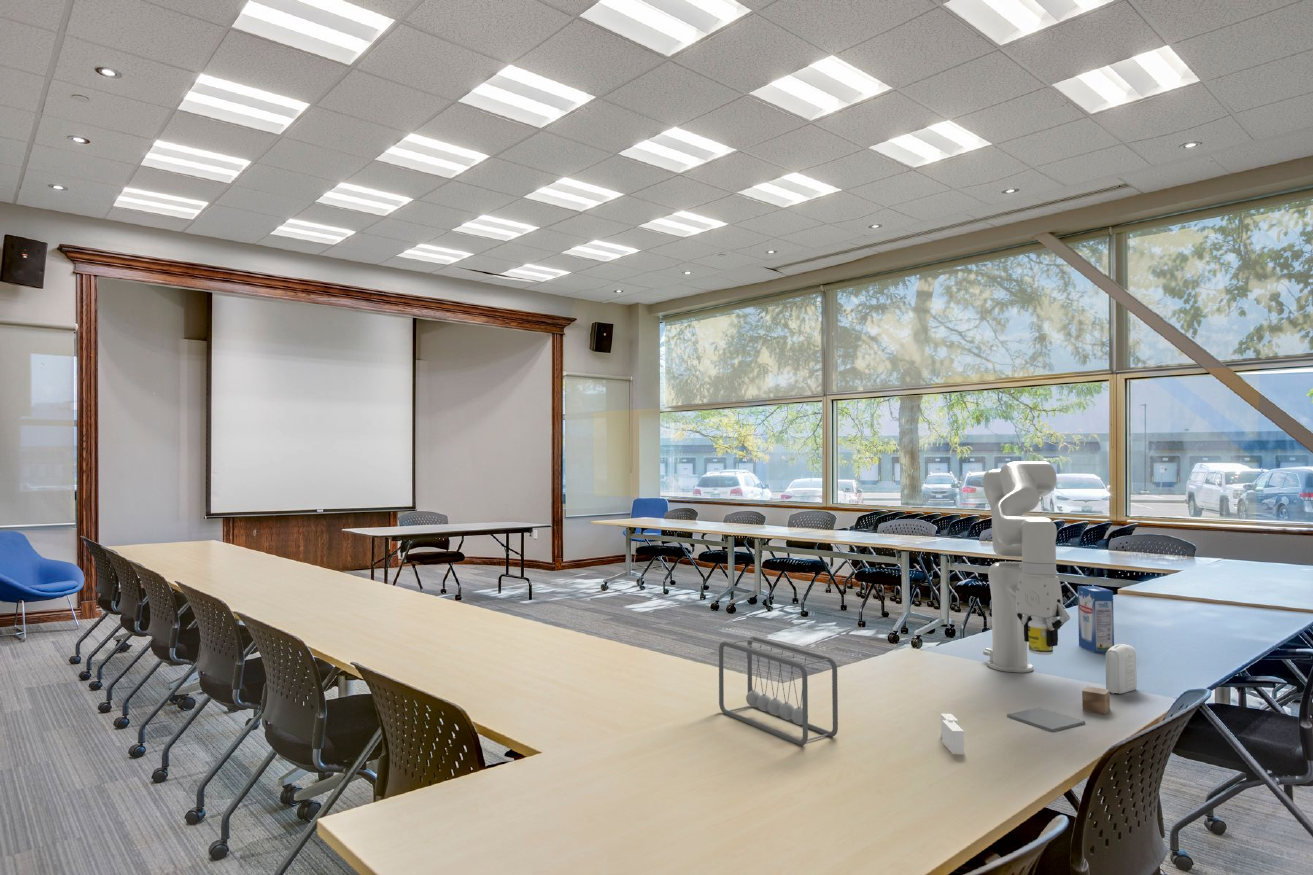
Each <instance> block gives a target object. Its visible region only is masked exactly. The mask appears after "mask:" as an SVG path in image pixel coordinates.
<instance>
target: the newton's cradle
mask: <svg viewBox="0 0 1313 875" xmlns="http://www.w3.org/2000/svg"><path fill="white" fill-rule="evenodd" d="M744 642H747V643H746V644H747V646H746V645H743V644H739V643H744ZM753 643H755V644H756V646H758V645H760V647H759V648H758V649H756V648H754V647H753V646H755V644H753ZM762 645H763V646H766V647H767V649H769V648H770V652H767V651H763V649H765V647H764V648H763V647H762ZM725 647H727V648H731V649H734V650H737V651H740V652H743V653H746V659H747V694H746V696H745V701H746V703H747V705H746V706H743V707H738V708H733V709H727V708H726V707H725V704H724V703H725V702H724V698H725V697H724V693H725V692H724V681H725V680H724V648H725ZM773 649H776V650H774V651H773V653H772V650H773ZM777 650H778V652H781V655H777V654H775V653H776V652H777ZM783 652H787V653H789V654H786V656H788V655H790V654H791V655H793V656H792V658H787V657H784V656H785V654H783ZM795 655H798V656H801V657H797V658H796V657H795ZM753 656H756V658H757V669H756V678H755V681H757V680H758V672H759V678H760V685H761V691H762V694H761V693H760V692H758V691H757V690H756V688H757V687H756V686H757V682H755V684H754V689H753ZM794 657H795V658H794ZM760 658H764V659H766V660H767V663H768V667H767V668H768V669H767V674H769V675H767V676H766V682H768V678H769V676H770V681H771V682H770V684H771V689H772V696H773V698H771V696H769V695H767V687H768V683H766V685H765V691H764V688H763V682H762V676H761V668H760ZM801 658H802V659H803V658H804V662H802V661H799V660H797V659H801ZM807 658H808V659H812V660H815V661H811V662H810V661H809V662H806V661H807ZM771 661H773V662H776V663H778V664H779V672H778V680H777V687H776V688H777V689H776V697H775V693H774V686H773V680H772V674H771V667H770V665H771ZM823 662H827V663H828V664H830V666H831V670H832V671H831V680H832V682H831V684H832V685H831V687H832V688H831V689H832V690H831V691H832V700H831V701H832V730H831V731H829V730H827V729H824V728H821V727H819V726H817V725H815V724H811V723H809V722H808V721H809V720H808V719H809V714H808V713H809V712H808V711H809V710H808V709H809V708H808V705H809V704H808V701H809V700H808V697H809V696H808V692H809V691H808V689H809V688H808V671H807V669H806V666H808V665H809V666H810V665H813V664H819V663H823ZM782 664H783V665H785V666H786V665H787V666H790V668H791V671H790V679H789V680H790V681H789V687H788V696H787V701H786V695H785V693H783V697H784V702H782V700H780V699H779V698H778V691H779V683H780V678H781V684H782V690H783V692H785V688H784V681H783V675H782ZM793 668H796V669H799V670H800V672H801V678H802V679H801V680H802V684H801V687H802V688H801V695H800V696H801V698H800V703H801V704H800V705H799V702H798V696H797V695H798V694H797V689H796V684H795V678H794V672H793ZM758 670H759V671H758ZM792 680H793V685H794V686H793V687H794V692H795V697H796V704H797V707H794V705H793V704H792V703H790V702H789V698H790V689H791V683H792ZM764 692H765V693H764ZM838 697H839V696H838V666H837V662H836V661H835V660H834V658H832V657H830V656H827V655H823V654H819V653H816V652H812V651H809V650H804V649H801V648H797V647H794V646H790V645H787V644H783V643H779V642H776V641H771V640H768V639H765V638H761V637H758V636H750V637H749V638H747V639H742V640H740V639H739V640H736V641H730V642H729V641H727V640H726V641H722V642H720V644H719V647H718V705H719V709H720V710H721V712H722V713H723V715H726V716H728V717H730V718H731V717H732V718H733V719H735V720H738V721H739V722H742V723H746V724H747V725H749V726H753V727H755V728H757V729H760V730H761V731H764V732H766V731H767V733H769V734H771V735H774V736H776V737H778V738H782V739H783V740H785V741H788V742H790V741H791V743H793V742H794V743H793V744H795V743H796V744H795V745H798V746H801V745H802V746H805V745H806V744H807V742H809V741H813V740H817V739H820V738H824V737H830V738H833V737H835V736H836V735H837V733H838V730H839V729H838V728H839V721H838V720H839V712H838V711H839V708H838V705H839V704H838V702H839V701H838ZM748 708H754V709H757V710H759V711H762V712H764V713H766V714H770V715H772V716H775V717H778V718H780V719H783V720H786V721H788V722H790V723H793V724H795V725H799V726H801V727H802V737H801V738H802V739H799V738H796V737H794V736H791V735H790V734H787V733H784V732H782V731H780V730H777V729H774V728H772V727H771V726H770V727H769V726H768V725H765V724H763V723H760V722H757V721H755V720H754V719H753V720H752V719H751V718H748V717H746V716H743V715H740V714H738V713H737V712H736V711H739V710H744V709H748ZM809 730H811V731H813V732H816V733H818V734H821V735H818V736H814V737H811V738H809Z"/></svg>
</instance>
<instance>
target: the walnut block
mask: <svg viewBox="0 0 1313 875" xmlns="http://www.w3.org/2000/svg"><path fill="white" fill-rule="evenodd" d="M1081 694H1082V696H1081V698H1082V699H1081V701H1082V703H1081V704H1082V705H1081V706H1082V711H1083V710H1084V711H1083V712H1090V713H1093V712H1094V714H1100V715H1105V716H1106V715H1107V714H1108V713H1109V712H1110V711H1109V710H1111V702H1110V701H1111V695H1110V694H1111V693H1110V690H1107V689H1106V688H1100V687H1094V686H1090V685H1086V686H1085V687H1084V688H1083V689H1082V691H1081Z"/></svg>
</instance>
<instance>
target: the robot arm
mask: <svg viewBox="0 0 1313 875" xmlns="http://www.w3.org/2000/svg"><path fill="white" fill-rule="evenodd" d="M982 478H983V479H982V485H983V486H982V487H983V490H984V491H983V492H984V494H985V497H986V500H987V502H988V504H989V507H990V508H989V509H990V511H991V512H990V513H991V535H992V536H991V537H992V538H991V539H992V549H993V552H994V554H995V555H997V556H999V557H1004V558H1018V559H1019V558H1021V560H1022V561H998V562H994V563H992V564H991V565H990V566H989V568H988V571H987V573H988V574H987V576H988V583H989V584H988V585H989V589H990V596H991V621H992V622H991V624H992V628H991V629H992V632H991V633H992V639H991V640H992V648H989V647H986V648H984V650H983V653H982V655H983V656H988V657H989V659H988V660H987V666H988V667H989V668H990V669H993V670H997V671H1001V672H1006V673H1018V674H1019V673H1020V674H1021V673H1029V672H1032V671H1033V670H1034V665H1033V664H1031V663H1030V662H1028V643H1029V638H1028V623H1029V621H1031V620H1032V618H1031V616H1036V617H1041V618H1046V621H1047V624H1048V628H1049V630H1047V631H1046V633H1047V646H1048V647H1052V646H1053V647H1057V646H1058V642H1059V630H1060V629H1061V627H1062V626H1063V625H1064V624H1065V623H1067V622H1068V621H1070V620H1071V616H1070V615H1069V614H1068V612H1067V610H1066V609H1065V607H1064V601H1063V600H1064V599H1063V593H1062V586H1061V585H1062V584H1061V581H1060V578H1059V576H1057V552H1056V550H1057V547H1056V544H1057V543H1056V540H1057V536H1058V530H1057V525H1056V524H1055V523H1054V521H1053V520H1052V519H1051V518H1049V517H1046V516H1023V515H1024V514H1027V513H1029V512H1031V511H1033V510H1035V509H1036V507H1038V506H1039V503H1040V498H1043V497H1046V496H1047V495H1049V494H1050V493H1052V492H1053V491H1054V489H1056V488H1055V487H1056V486H1057V481H1058V479H1057V472H1056V469H1055V468H1054V466H1053V465H1052V464H1051V463H1050V462H1048V461H1044V460H1043V461H1042V460H1041V461H1037V460H1036V461H1035V460H1034V461H1030V460H1028V461H1025V460H1024V461H1022V460H1021V461H1011V462H1007V463H1005V464H1003V466H1001V467H1000V468H994V469H990V470H987V471H986V472H985V473H984V474H983V477H982Z"/></svg>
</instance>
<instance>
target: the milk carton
mask: <svg viewBox="0 0 1313 875" xmlns="http://www.w3.org/2000/svg"><path fill="white" fill-rule="evenodd" d="M1077 606H1078V608H1077V612H1078V613H1077V616H1078V617H1077V618H1078V619H1077V620H1078V621H1077V622H1078V647H1080V646H1081V647H1080V648H1083V649H1085V648H1086V649H1085V650H1086V651H1089V650H1091V651H1090V652H1092V651H1093V652H1092V653H1095V654H1106V652H1107V651H1108V650H1109V649H1110V648H1111V647H1113V646H1115V626H1114V624H1115V623H1114V616H1115V615H1114V591H1113V590H1111V589H1107V588H1104V587H1099V586H1096V585H1095V586H1094V585H1093V586H1091V585H1090V586H1087V585H1085V586H1083V585H1080V586H1079V585H1078V586H1077Z"/></svg>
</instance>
